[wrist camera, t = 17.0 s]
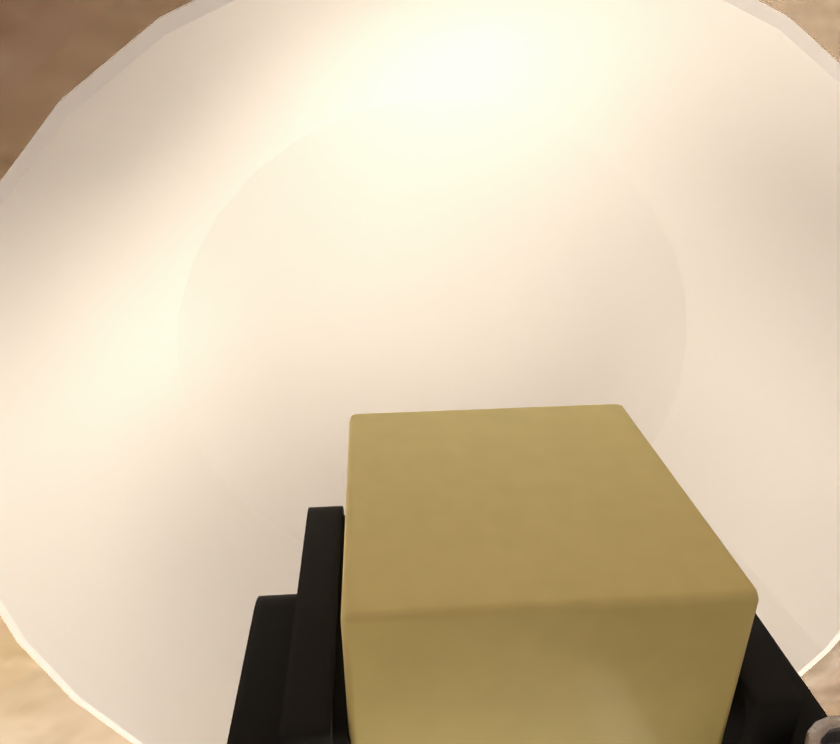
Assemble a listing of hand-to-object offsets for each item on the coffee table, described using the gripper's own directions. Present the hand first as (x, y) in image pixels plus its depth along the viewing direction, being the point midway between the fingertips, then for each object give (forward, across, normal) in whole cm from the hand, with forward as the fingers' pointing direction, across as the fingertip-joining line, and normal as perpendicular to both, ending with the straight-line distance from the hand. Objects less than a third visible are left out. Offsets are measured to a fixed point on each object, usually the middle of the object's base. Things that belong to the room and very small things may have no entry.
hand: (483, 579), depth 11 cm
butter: (0, 0, 0) cm, 0 cm away
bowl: (+9, 0, 0) cm, 9 cm away
